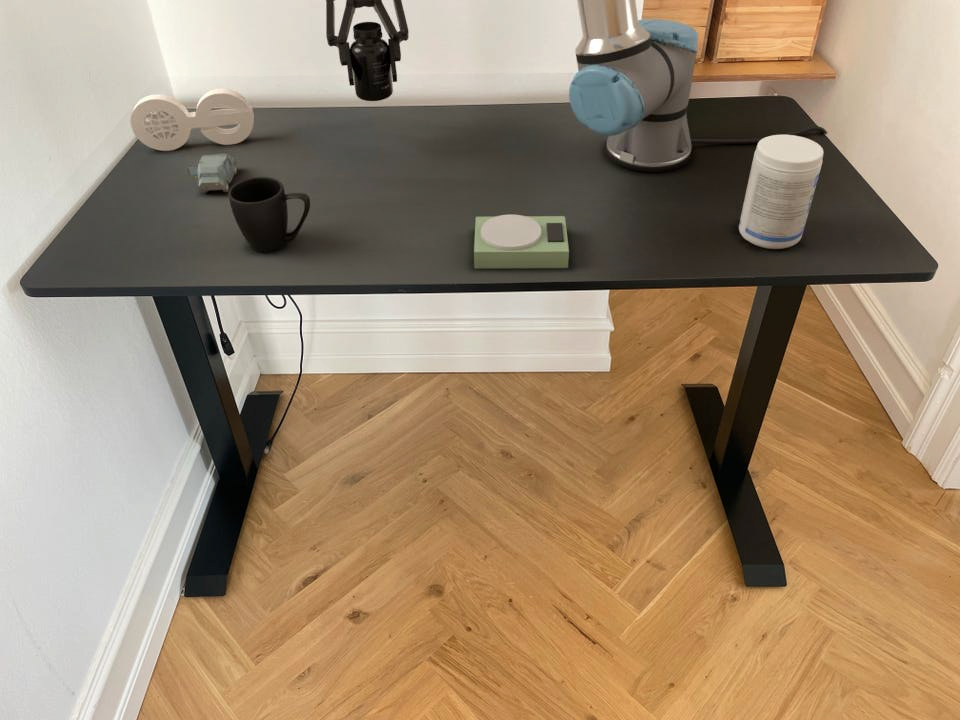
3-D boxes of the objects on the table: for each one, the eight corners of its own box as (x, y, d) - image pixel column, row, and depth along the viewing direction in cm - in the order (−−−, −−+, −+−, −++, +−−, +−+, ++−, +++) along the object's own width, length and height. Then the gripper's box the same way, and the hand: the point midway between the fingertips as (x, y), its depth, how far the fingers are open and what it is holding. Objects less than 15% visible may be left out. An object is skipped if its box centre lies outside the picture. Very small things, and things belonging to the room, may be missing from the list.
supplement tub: (812, 247, 120) (839, 158, 110) (755, 255, 118) (778, 167, 109) (780, 215, 127) (803, 129, 117) (726, 223, 126) (745, 137, 116)
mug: (309, 260, 120) (298, 206, 113) (234, 256, 121) (219, 202, 115) (323, 232, 126) (314, 178, 120) (252, 228, 127) (239, 175, 121)
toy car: (238, 169, 143) (232, 144, 139) (226, 196, 135) (219, 170, 132) (203, 169, 143) (196, 145, 139) (189, 197, 135) (181, 171, 132)
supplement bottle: (347, 95, 141) (338, 26, 133) (376, 84, 145) (368, 16, 137) (373, 105, 137) (364, 35, 129) (401, 93, 141) (395, 24, 133)
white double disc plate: (140, 153, 148) (123, 102, 142) (141, 148, 150) (125, 97, 143) (258, 141, 151) (247, 90, 144) (258, 136, 153) (247, 86, 146)
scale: (564, 232, 124) (565, 212, 122) (567, 268, 117) (569, 248, 114) (476, 232, 125) (475, 213, 122) (474, 268, 117) (473, 248, 115)
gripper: (413, -38, 142) (429, 84, 140) (304, -31, 140) (318, 94, 138) (414, -64, 134) (430, 66, 133) (298, -56, 132) (313, 75, 131)
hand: (373, 80), depth 136 cm, fingers closed on supplement bottle, 7 cm apart
